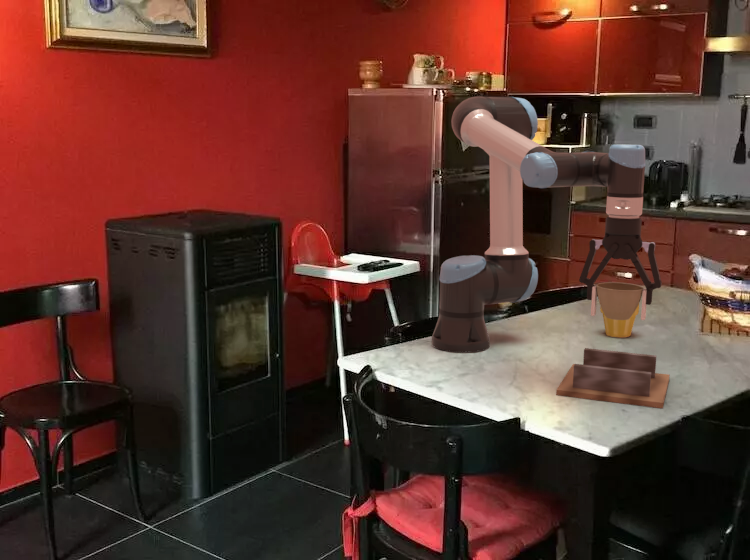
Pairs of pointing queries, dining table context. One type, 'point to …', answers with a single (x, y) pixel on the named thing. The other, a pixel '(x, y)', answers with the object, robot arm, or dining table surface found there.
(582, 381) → the cup cradle
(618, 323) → the plant pot
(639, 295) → the flower pot
